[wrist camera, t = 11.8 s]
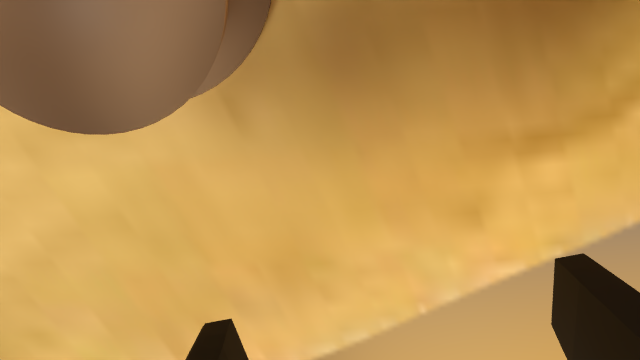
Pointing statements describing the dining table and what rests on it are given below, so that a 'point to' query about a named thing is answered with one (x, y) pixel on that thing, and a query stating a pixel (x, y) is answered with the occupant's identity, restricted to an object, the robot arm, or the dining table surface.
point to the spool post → (118, 57)
